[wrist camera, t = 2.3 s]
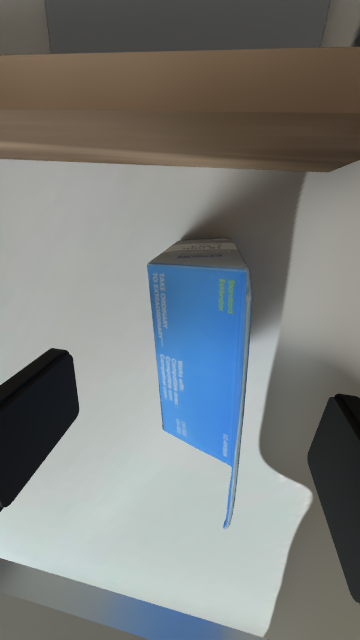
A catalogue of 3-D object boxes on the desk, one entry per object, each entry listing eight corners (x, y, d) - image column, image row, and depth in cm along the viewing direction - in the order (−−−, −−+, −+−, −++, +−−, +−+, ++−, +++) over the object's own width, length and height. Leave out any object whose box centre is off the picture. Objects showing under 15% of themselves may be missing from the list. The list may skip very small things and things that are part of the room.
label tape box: (177, 238, 17) (79, 288, 6) (238, 236, 16) (262, 290, 5) (182, 349, 20) (127, 515, 9) (232, 352, 19) (239, 536, 8)
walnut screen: (-68, 135, 17) (-344, 63, 9) (335, 146, 13) (504, 43, 5) (-62, 156, 17) (-317, 106, 9) (328, 172, 14) (472, 114, 6)
